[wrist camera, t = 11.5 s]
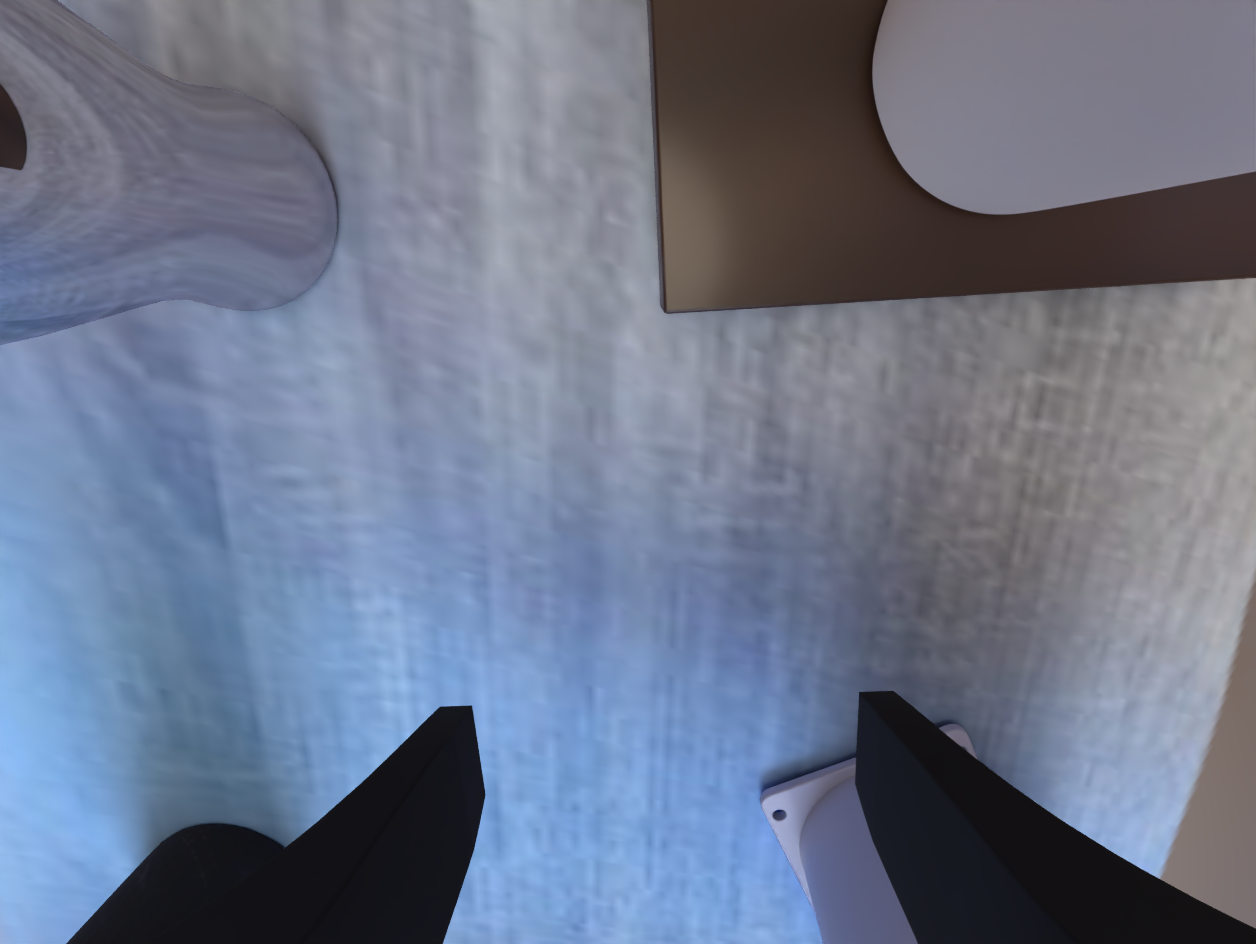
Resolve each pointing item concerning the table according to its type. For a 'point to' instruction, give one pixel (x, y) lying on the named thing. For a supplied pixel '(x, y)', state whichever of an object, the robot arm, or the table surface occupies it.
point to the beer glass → (142, 184)
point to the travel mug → (176, 882)
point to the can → (1065, 97)
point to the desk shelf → (867, 182)
